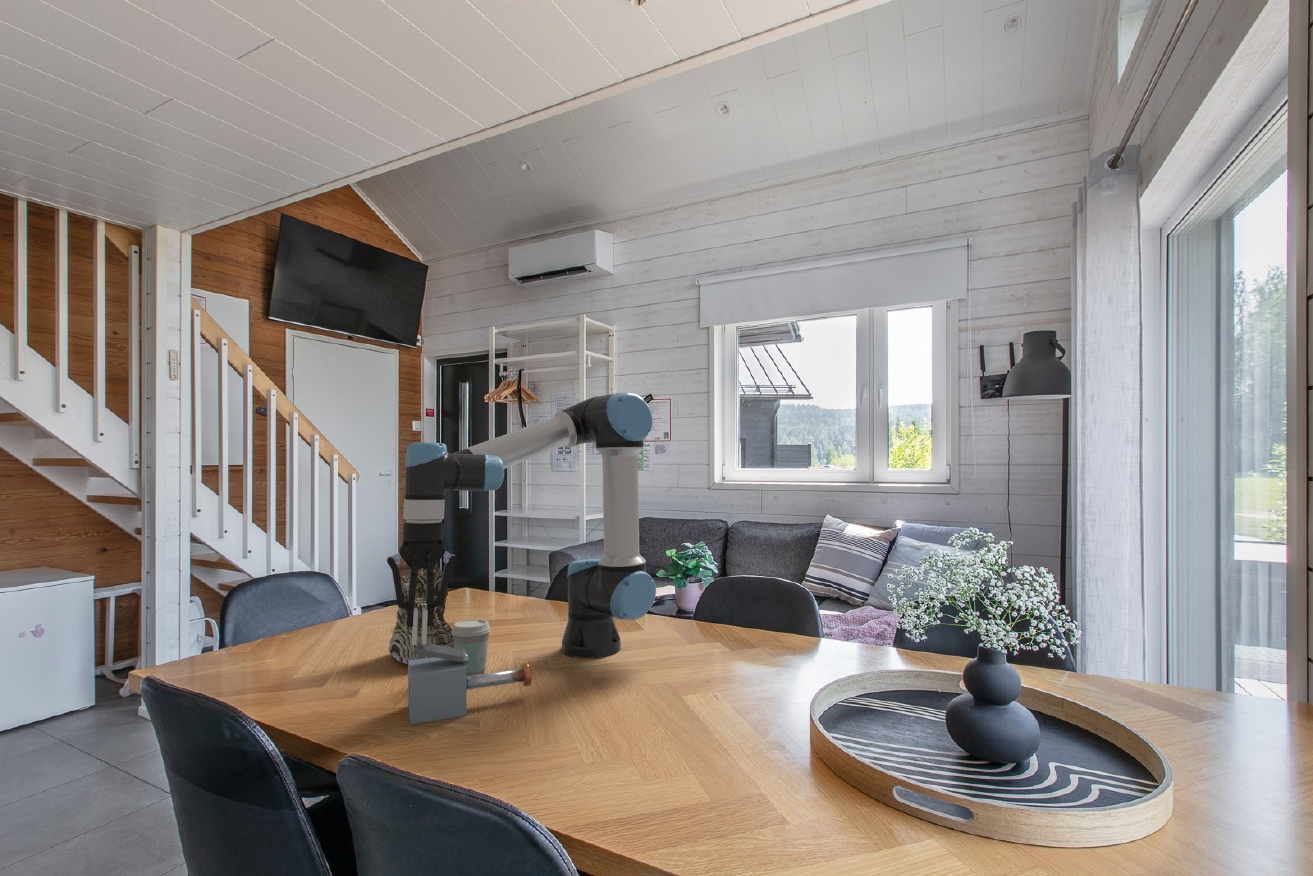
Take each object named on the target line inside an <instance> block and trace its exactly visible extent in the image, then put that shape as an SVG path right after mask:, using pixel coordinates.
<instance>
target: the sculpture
mask: <svg viewBox="0 0 1313 876" xmlns="http://www.w3.org/2000/svg"><path fill="white" fill-rule="evenodd" d="M420 571H421V573H420V574H419V575H417V584H416V595H415V605H414V608H417V609H418V624H417V641H418V642H421V635H422V610H423V608H426V607H427V601H426V569H420ZM442 573H443V570H442V569H441V568H440V567H439V566H438V564H436V565H435V567H434V574H433V577H434V599H437V595H438V590H439V586H440V582H441V577H442ZM400 580H401V586H402V592H403V598H404V601H408V590H409V580H410V574H407V575H404V576H402V578H401V579H400ZM448 596H449V586H447V591H446V595H445V599H444V603H443V605H439V606H437V607H435V608H434V613H433V624H432V625H431V626H427V640H426V643H429V644H435V645H440V646H445V647H451V648H454V640H453V635H452V629H453V628H452V627H451V626H450V625H449V623H448V622H447V621H446V619H445V616H444V615H445V611H446V603H447V597H448ZM406 621H407V610H406V609H404V608H399V607H398V609H397V610H396V623H395V626H394V629H393V631H392V636H391V638H390V639H389V643H388V645H389V647H388V653H389V654H390V655H392V657H393V658H395V659H396V661H398V662H399V663H403V664H406V665H408V661H409V660H417V659H425V658H433V657H429V656H423V655H418V654H413V652H412V647H411V645H412V627H407V624H406Z"/></svg>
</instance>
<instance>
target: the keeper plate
mask: <svg viewBox="0 0 1313 876" xmlns="http://www.w3.org/2000/svg"><path fill="white" fill-rule="evenodd" d="M411 647H412V652H413V654H418V655H423V656H429V657H434V658H440V659H446V660H451V661H457V662H463V663H468V662H469V657H468V655H467V653H466V651H465V649H463V648H462V649H456V648H451V647H445V646H440V645H435V644H429V643H426V644H424V645H422V642H418V641H417V645H411Z"/></svg>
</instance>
